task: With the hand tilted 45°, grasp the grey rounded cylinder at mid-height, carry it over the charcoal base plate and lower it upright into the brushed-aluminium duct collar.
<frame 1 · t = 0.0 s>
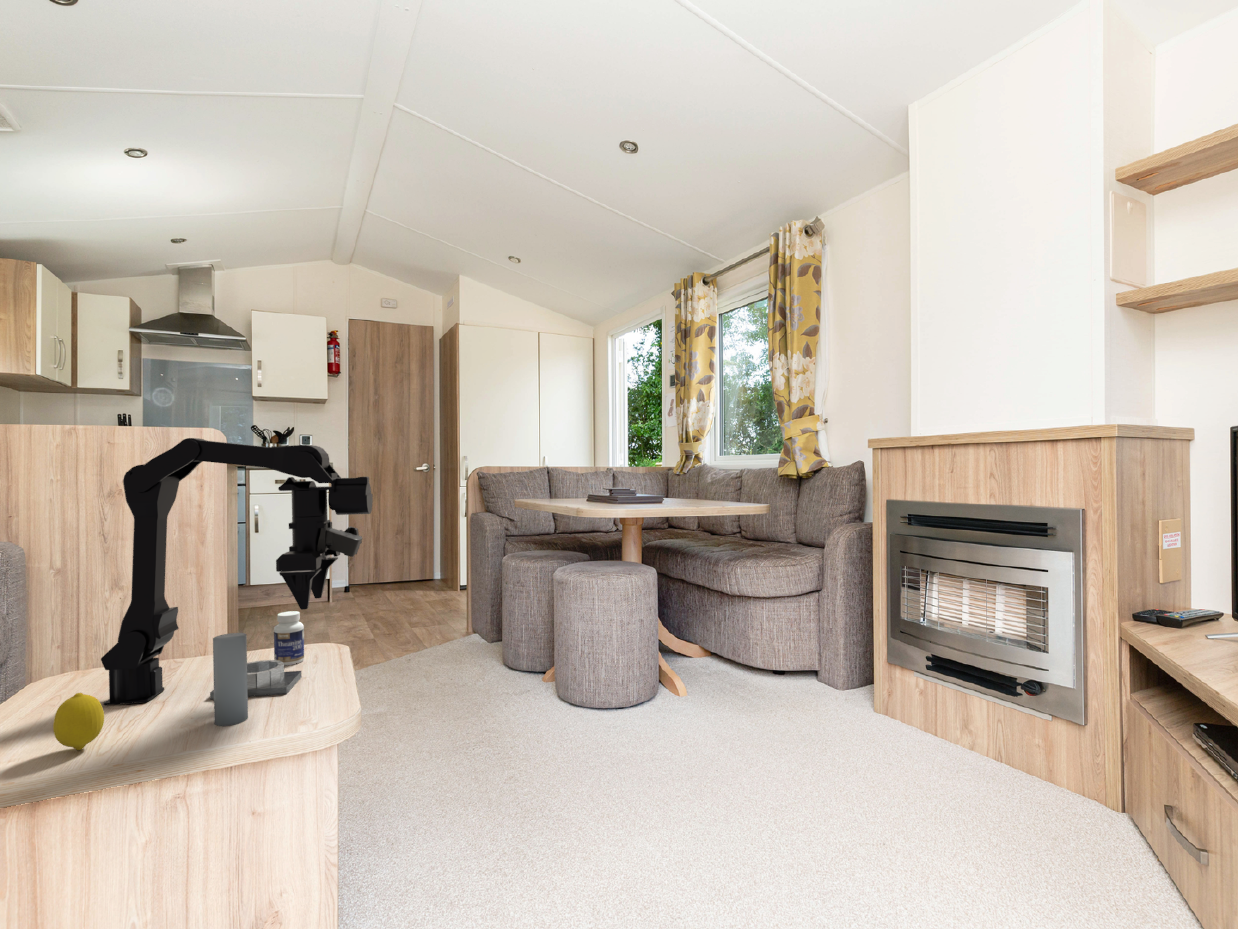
hand: (311, 603, 119), 15 cm above the table, tool pointing down, fingers open, 9 cm apart
duct plate: (258, 687, 118), on the table
grey rounded cylinder: (231, 720, 103), on the table
pill bottle: (289, 663, 133), on the table
lemon: (79, 751, 93), on the table
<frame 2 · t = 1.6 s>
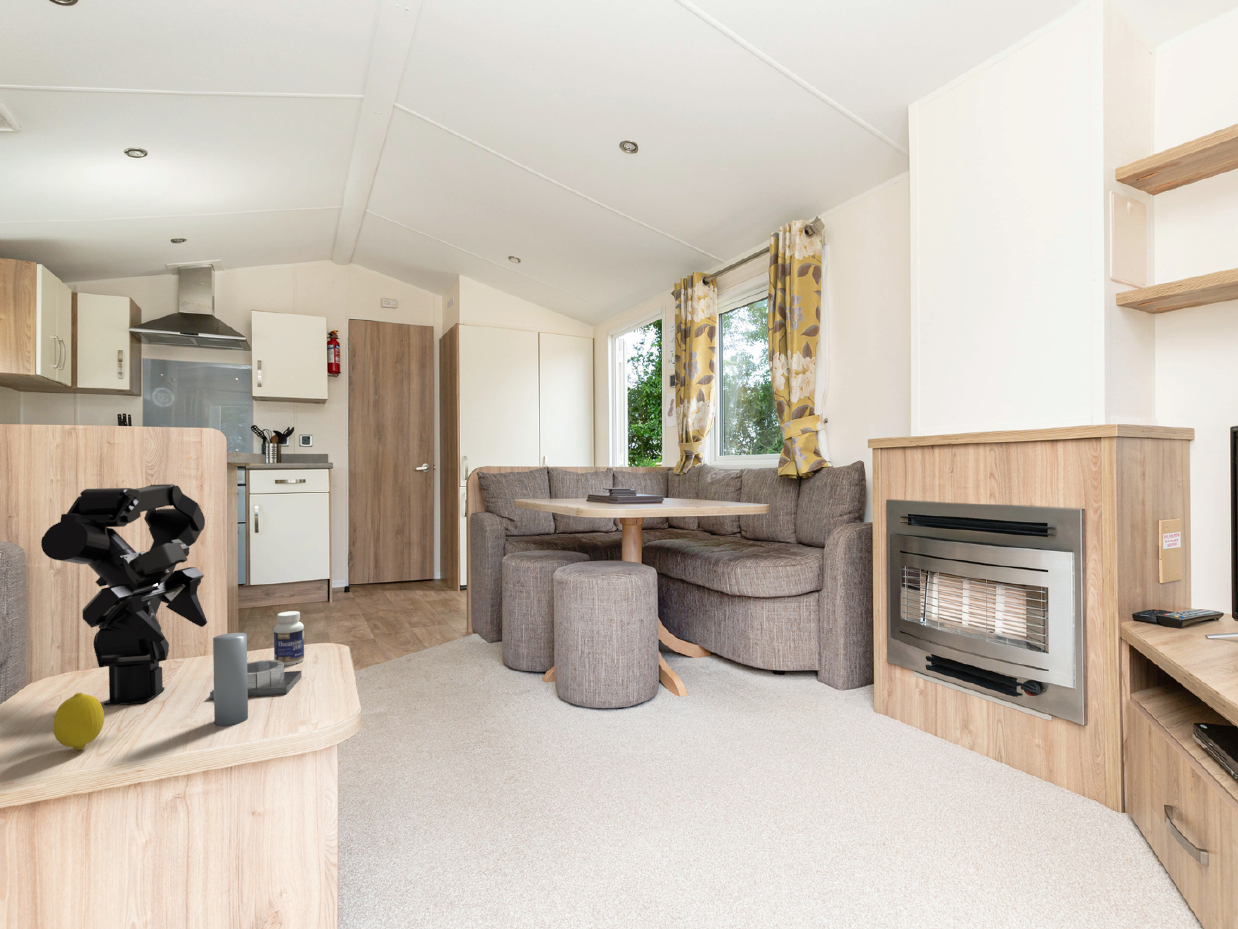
hand: (184, 632, 104), 14 cm above the table, tool tilted 45°, fingers open, 9 cm apart
nothing on the table moved.
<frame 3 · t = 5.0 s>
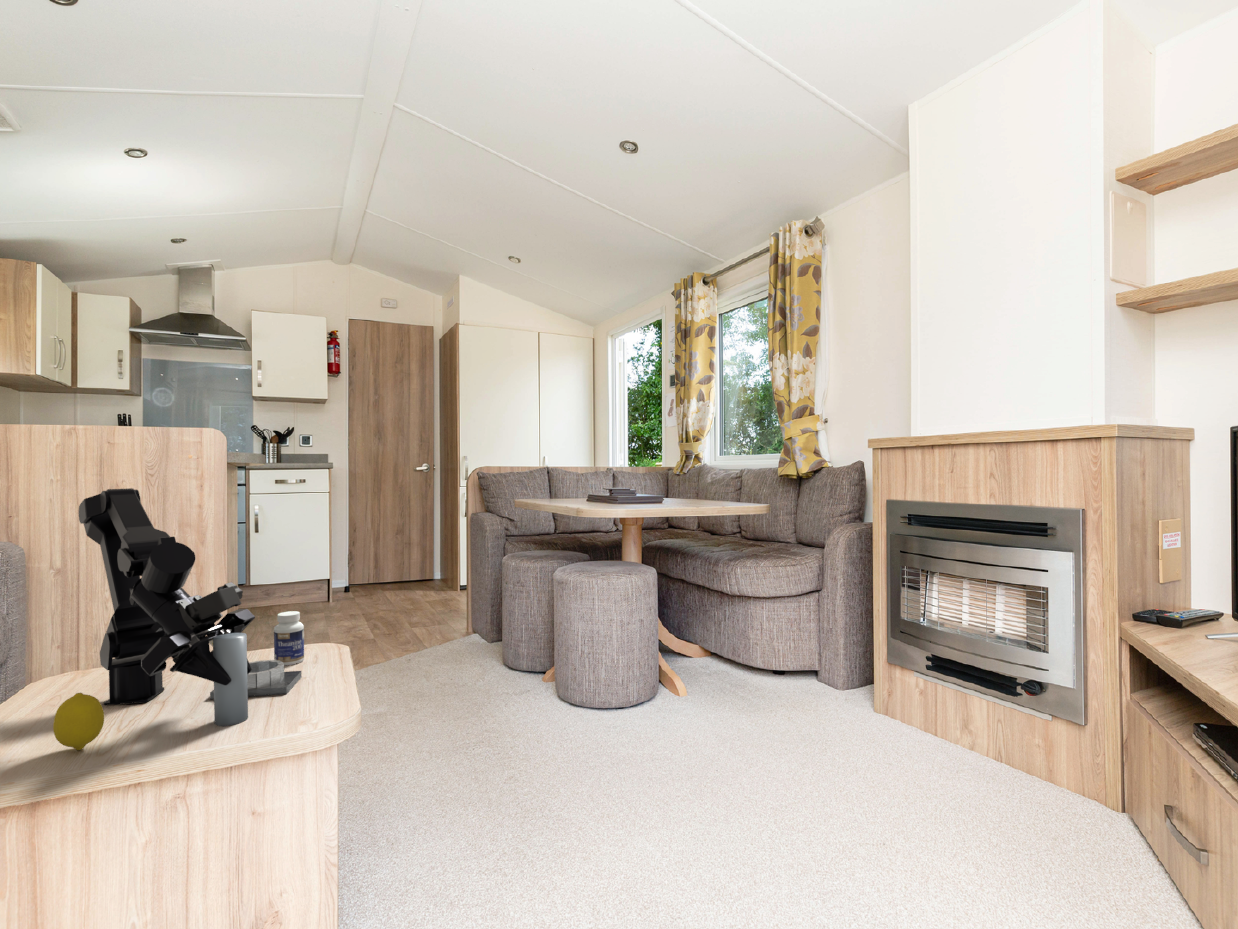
hand: (239, 677, 103), 7 cm above the table, tool tilted 45°, fingers closed on grey rounded cylinder, 4 cm apart
grey rounded cylinder: (231, 720, 103), on the table, touching gripper
everything else where it was.
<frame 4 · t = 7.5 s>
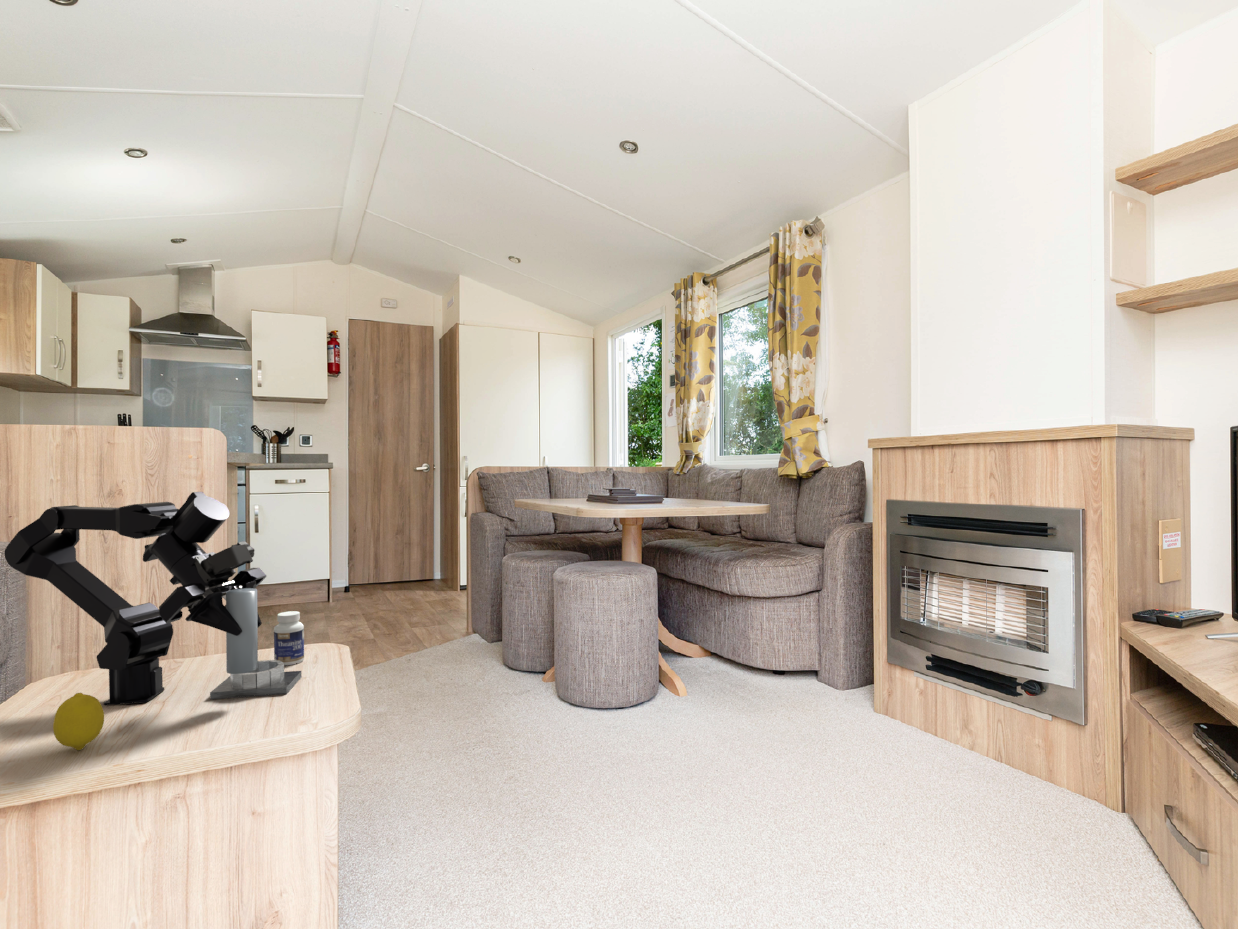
hand: (249, 629, 110), 12 cm above the table, tool tilted 45°, fingers closed on grey rounded cylinder, 4 cm apart
grey rounded cylinder: (242, 669, 110), point 6 cm above the table, touching gripper
everything else where it was.
when the fingers open (9 cm above the table, at t = 10.3 s): grey rounded cylinder drops 1 cm, resting on duct plate.
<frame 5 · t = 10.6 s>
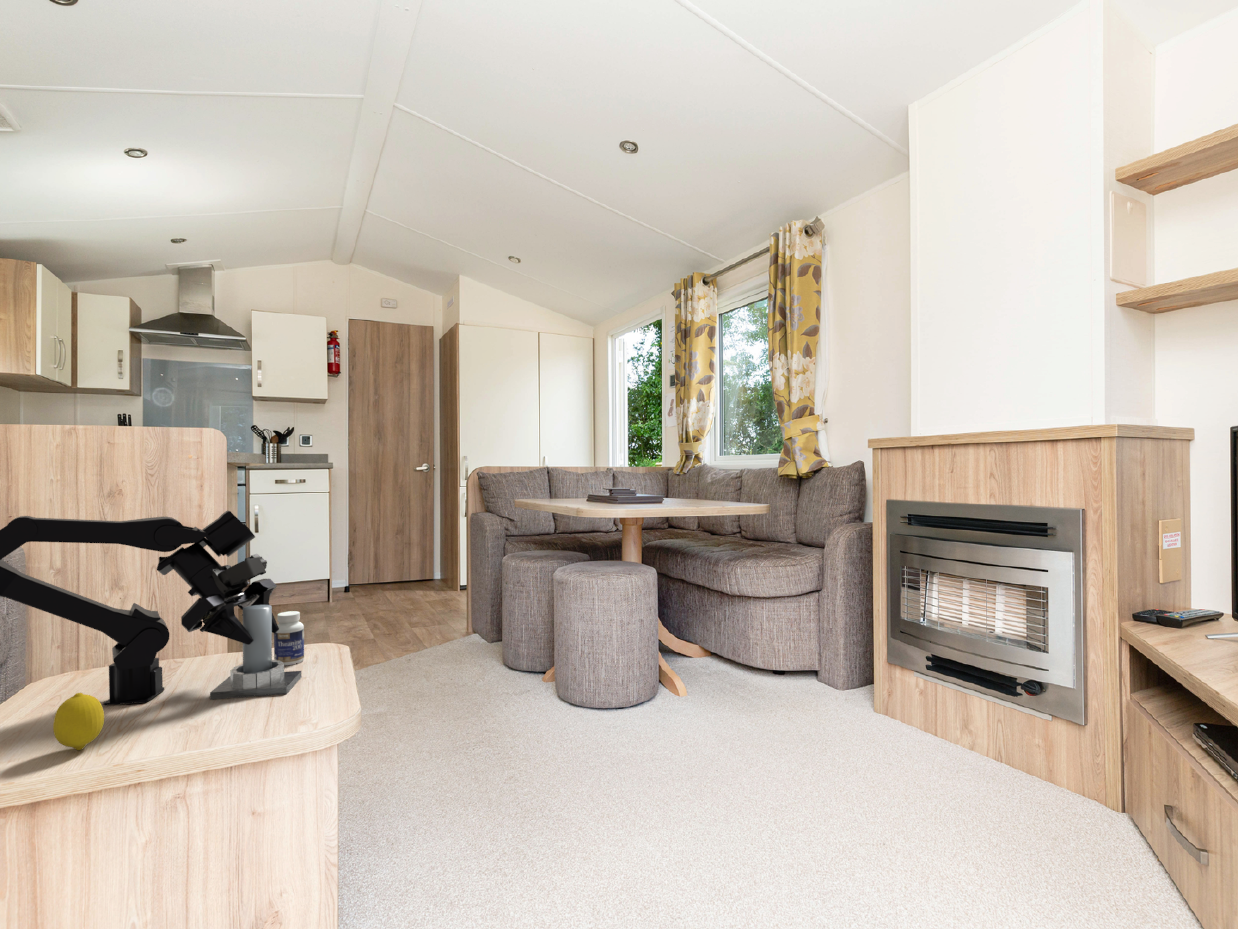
hand: (264, 636, 118), 9 cm above the table, tool tilted 45°, fingers open, 7 cm apart
grey rounded cylinder: (257, 681, 118), point 1 cm above the table, touching duct plate
everything else where it was.
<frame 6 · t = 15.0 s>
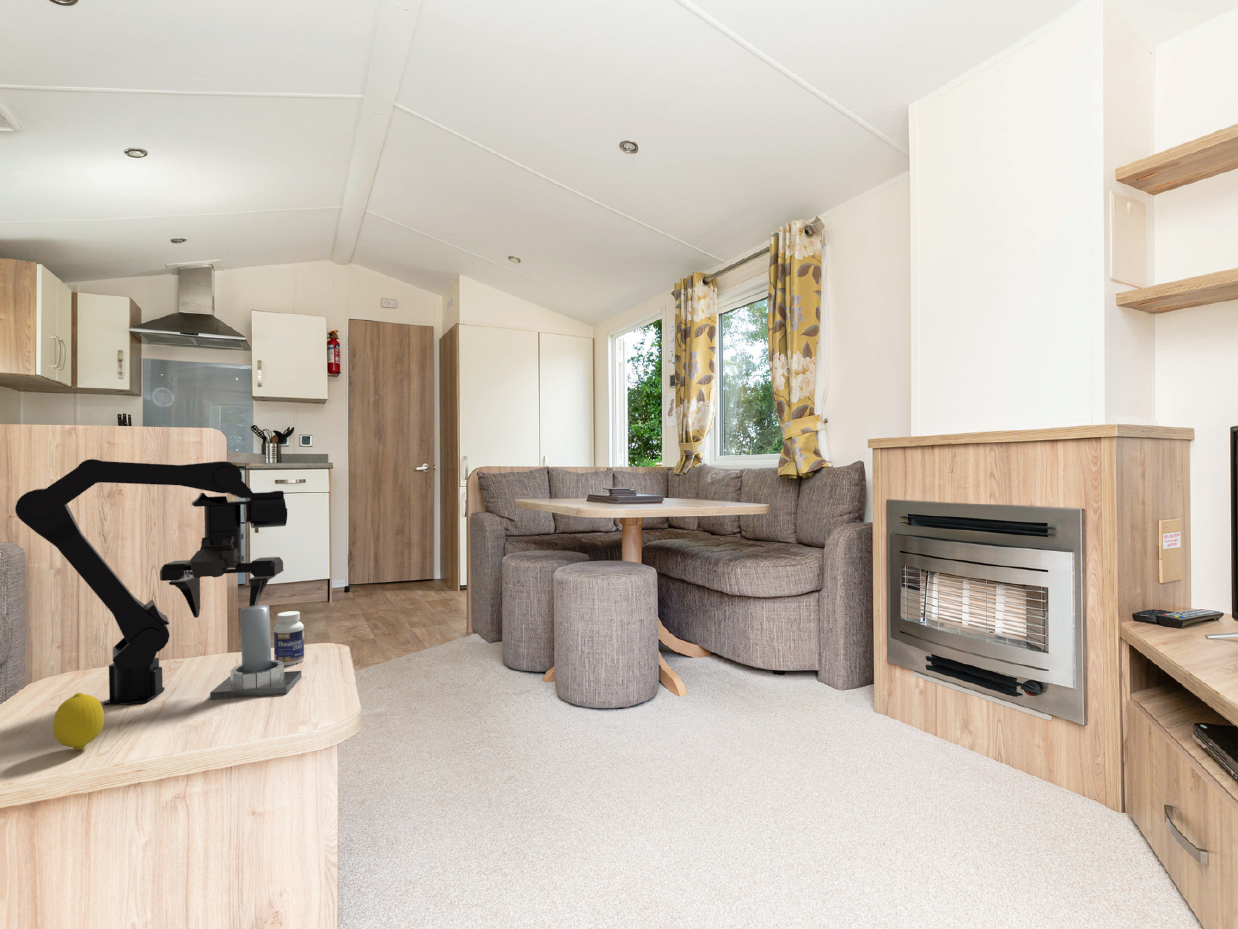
hand: (224, 615, 121), 12 cm above the table, tool pointing down, fingers open, 9 cm apart
nothing on the table moved.
at the end: grey rounded cylinder 0.1 cm off-centre on the duct plate, point 1.2 cm above the duct plate's base; grey rounded cylinder tilted 1° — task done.
